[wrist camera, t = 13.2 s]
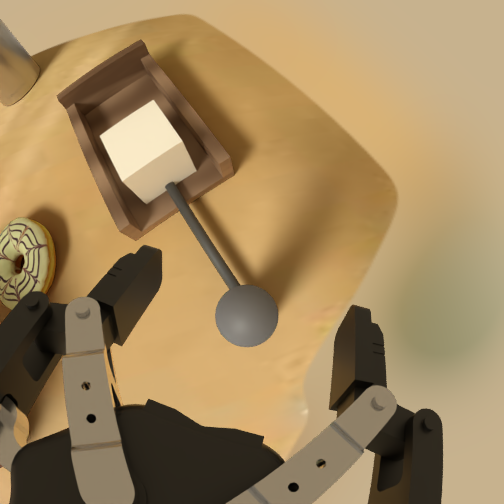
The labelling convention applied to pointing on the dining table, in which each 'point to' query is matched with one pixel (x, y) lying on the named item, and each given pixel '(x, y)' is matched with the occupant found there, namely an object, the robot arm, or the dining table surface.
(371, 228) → the dining table surface
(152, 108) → the block with knobbed rod
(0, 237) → the decorated donut
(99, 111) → the walnut lane
